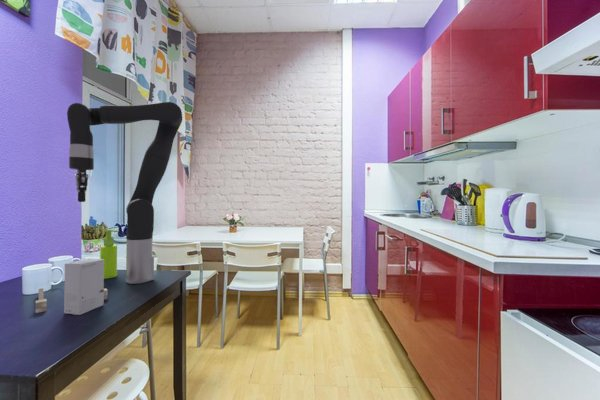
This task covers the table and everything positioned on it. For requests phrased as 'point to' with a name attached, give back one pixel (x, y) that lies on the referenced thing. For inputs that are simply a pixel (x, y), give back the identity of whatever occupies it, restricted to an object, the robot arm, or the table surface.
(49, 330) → the table surface
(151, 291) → the table surface
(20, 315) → the table surface
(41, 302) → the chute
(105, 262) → the soap dispenser
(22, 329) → the table surface
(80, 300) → the skincare box
